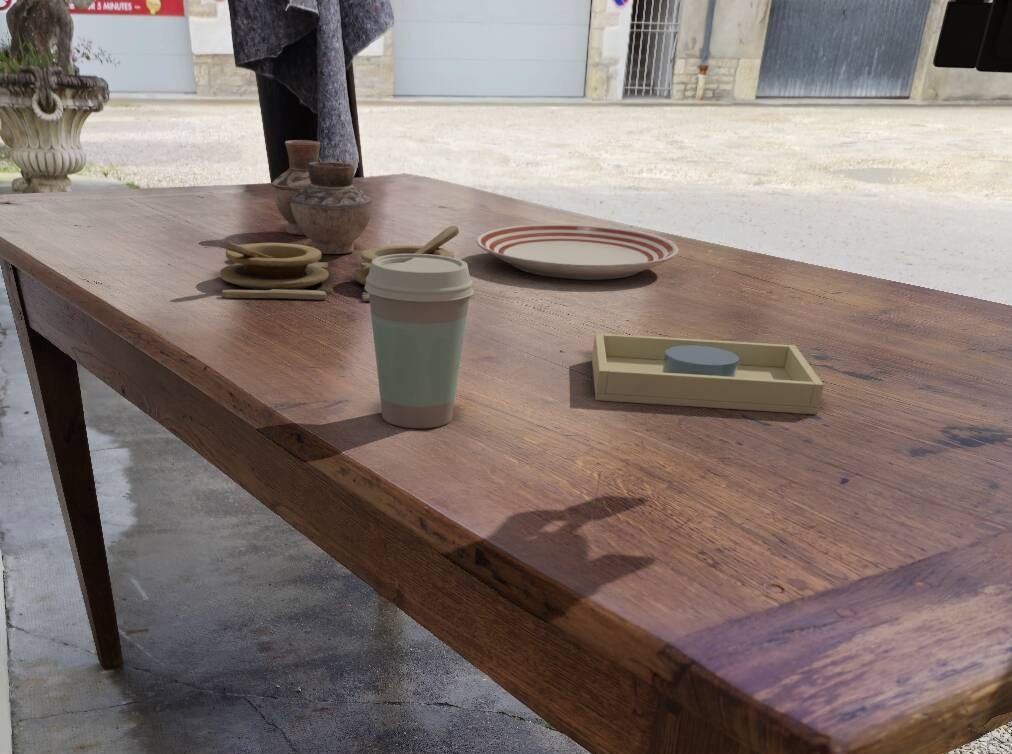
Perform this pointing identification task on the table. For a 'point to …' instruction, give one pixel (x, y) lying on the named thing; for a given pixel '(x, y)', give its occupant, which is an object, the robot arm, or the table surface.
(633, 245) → the dinner plate
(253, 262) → the tableware set
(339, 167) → the pottery
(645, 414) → the table surface
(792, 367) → the serving tray
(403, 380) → the coffee cup
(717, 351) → the blue-grey disc
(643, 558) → the table surface
